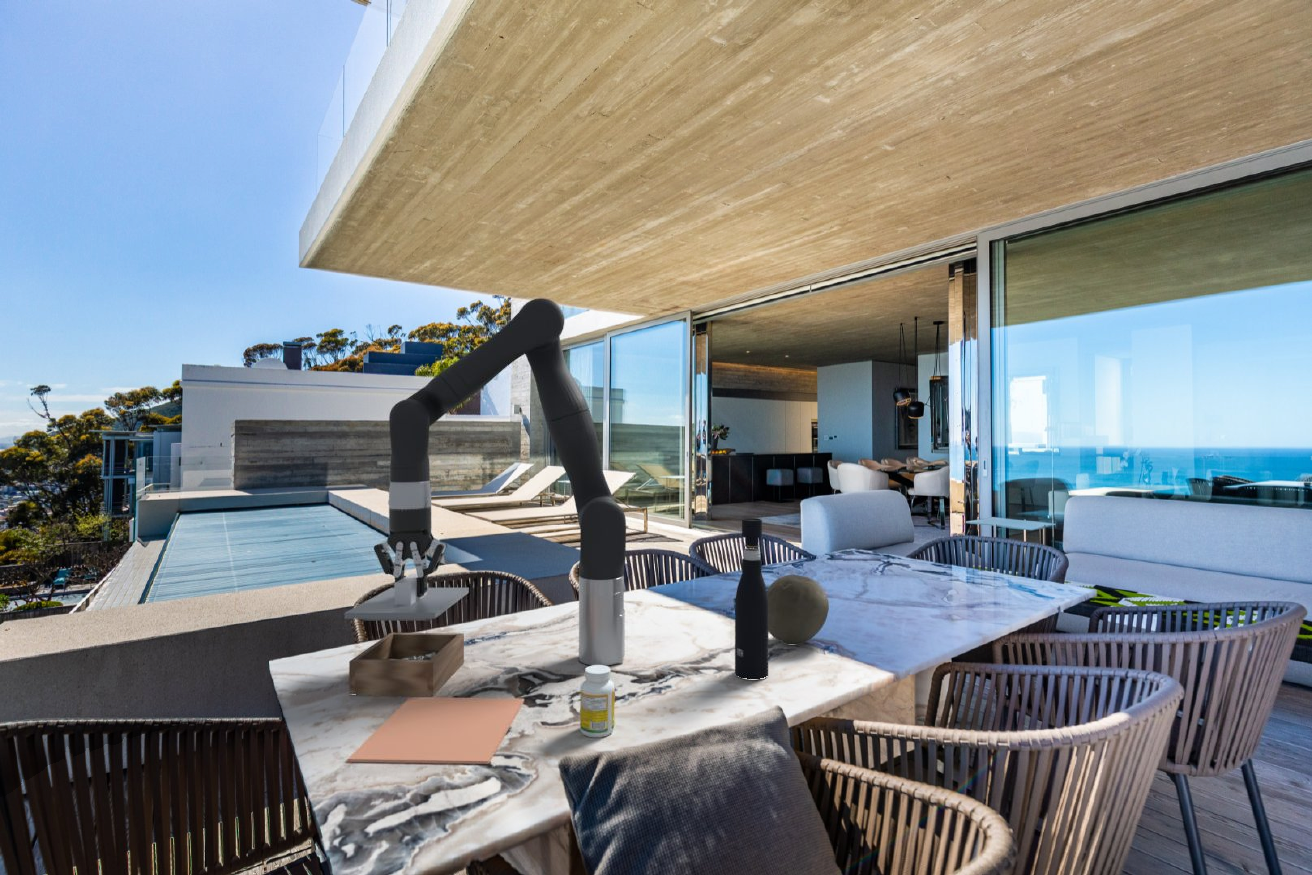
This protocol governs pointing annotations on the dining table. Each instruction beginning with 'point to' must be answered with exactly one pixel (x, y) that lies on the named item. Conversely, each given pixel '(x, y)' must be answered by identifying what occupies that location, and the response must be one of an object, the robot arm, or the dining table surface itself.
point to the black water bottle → (751, 609)
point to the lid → (407, 603)
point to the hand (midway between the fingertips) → (411, 595)
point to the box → (406, 664)
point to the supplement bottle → (597, 702)
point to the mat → (441, 731)
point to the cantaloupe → (796, 609)
